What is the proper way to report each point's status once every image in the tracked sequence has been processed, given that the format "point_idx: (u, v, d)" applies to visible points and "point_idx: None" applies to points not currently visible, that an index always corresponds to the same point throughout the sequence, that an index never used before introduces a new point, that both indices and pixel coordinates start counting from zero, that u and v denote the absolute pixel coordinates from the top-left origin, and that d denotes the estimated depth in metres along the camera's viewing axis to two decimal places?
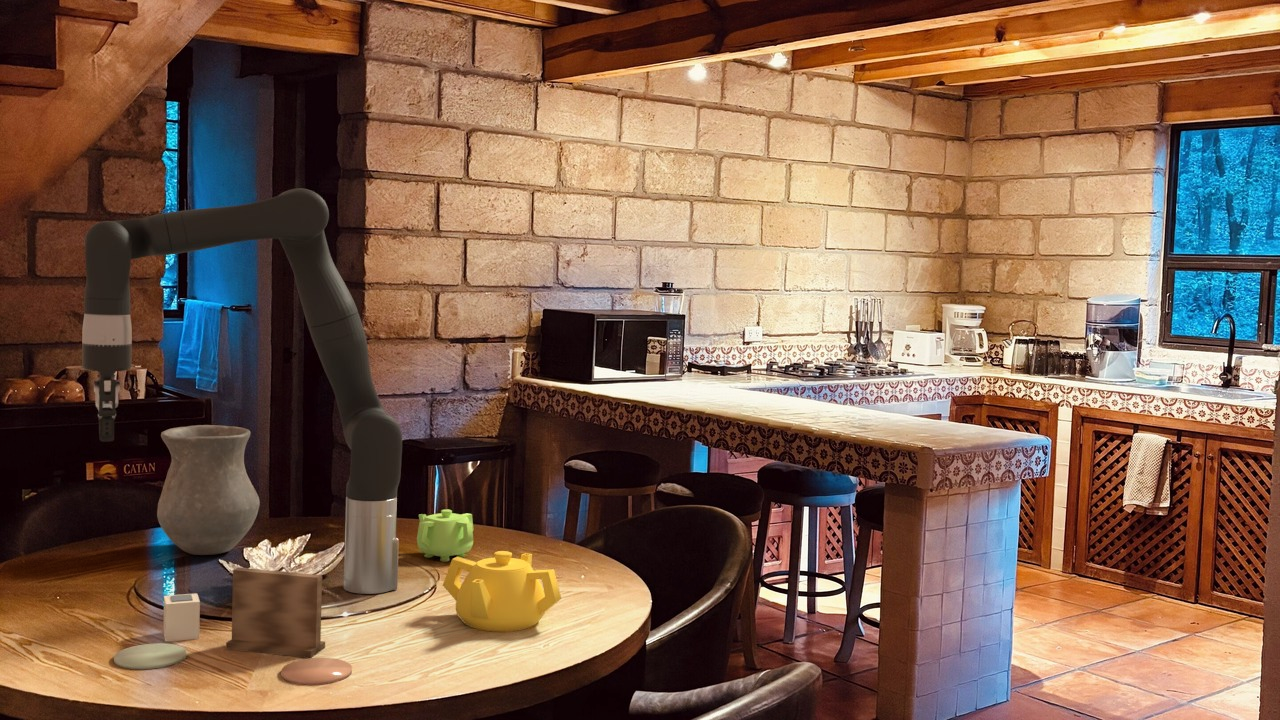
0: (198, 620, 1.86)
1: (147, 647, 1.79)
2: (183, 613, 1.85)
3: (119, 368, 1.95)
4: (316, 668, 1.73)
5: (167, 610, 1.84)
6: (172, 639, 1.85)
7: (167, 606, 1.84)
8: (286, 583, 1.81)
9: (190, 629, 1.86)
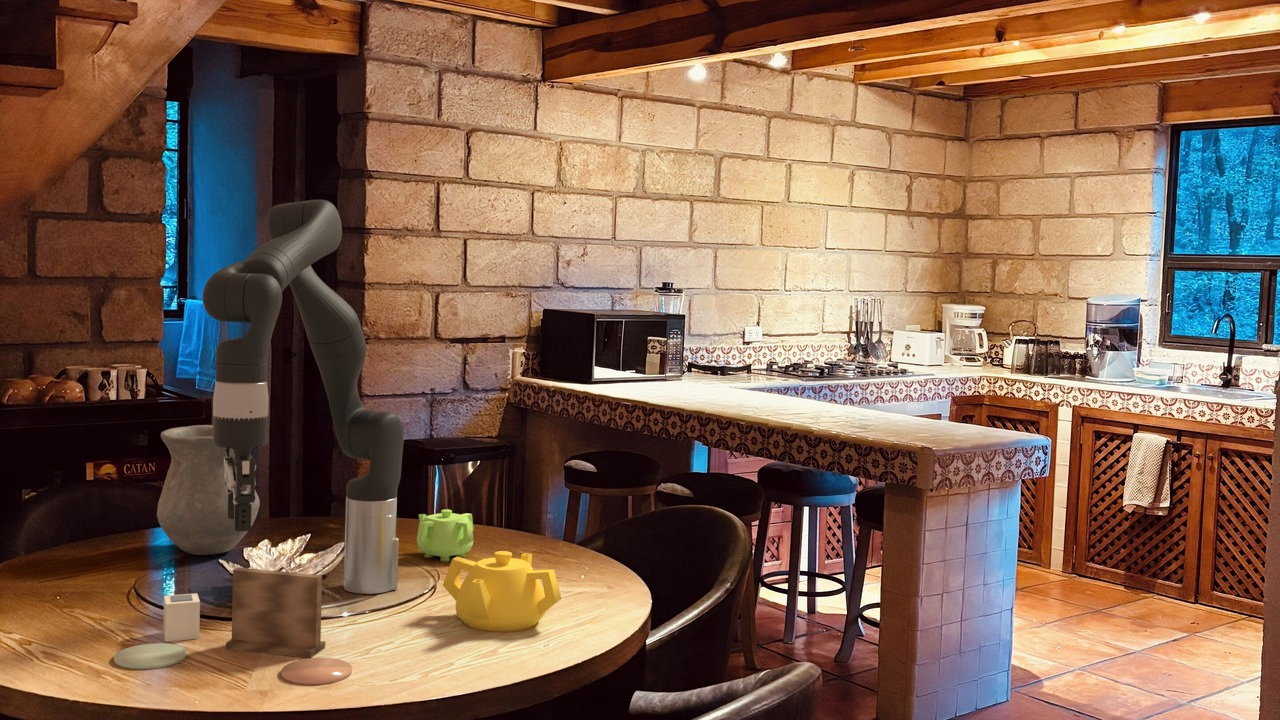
0: (198, 620, 1.86)
1: (147, 647, 1.79)
2: (183, 613, 1.85)
3: (256, 445, 1.66)
4: (316, 668, 1.73)
5: (167, 610, 1.84)
6: (172, 639, 1.85)
7: (167, 606, 1.84)
8: (286, 583, 1.81)
9: (190, 629, 1.86)
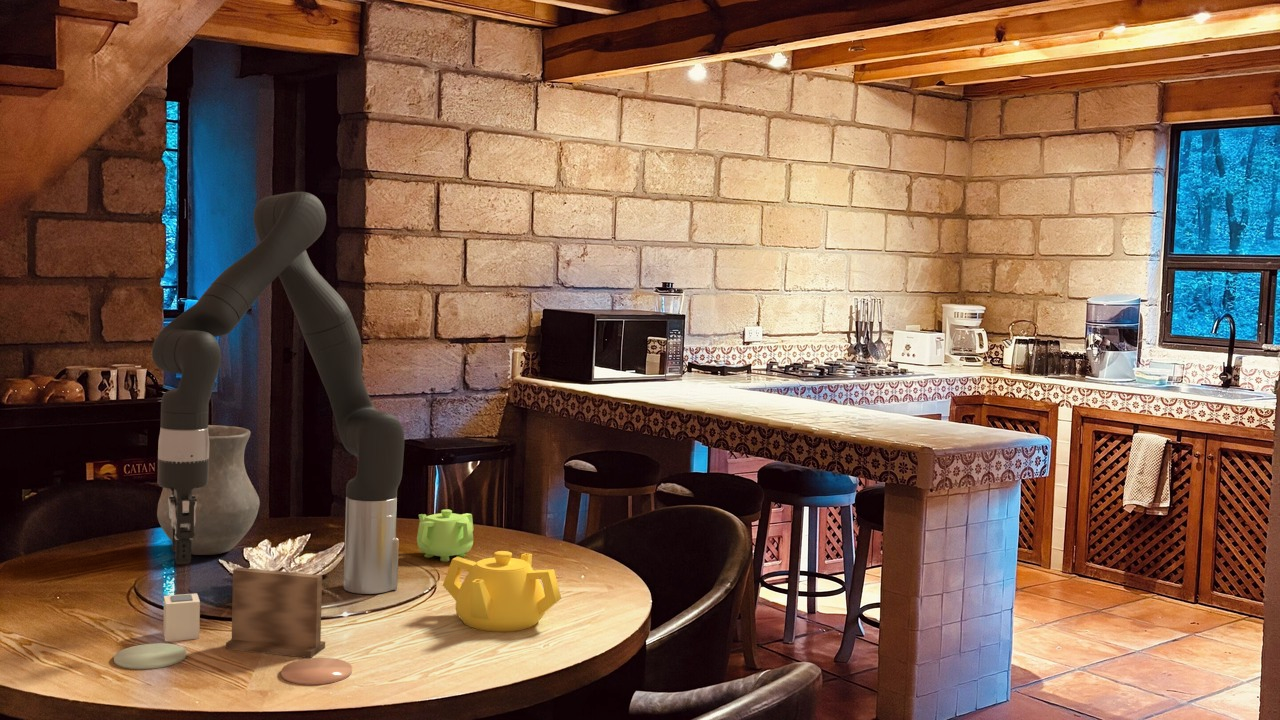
0: (198, 620, 1.86)
1: (147, 647, 1.79)
2: (183, 613, 1.85)
3: (197, 485, 1.84)
4: (316, 668, 1.73)
5: (167, 610, 1.84)
6: (172, 639, 1.85)
7: (167, 606, 1.84)
8: (286, 583, 1.81)
9: (190, 629, 1.86)
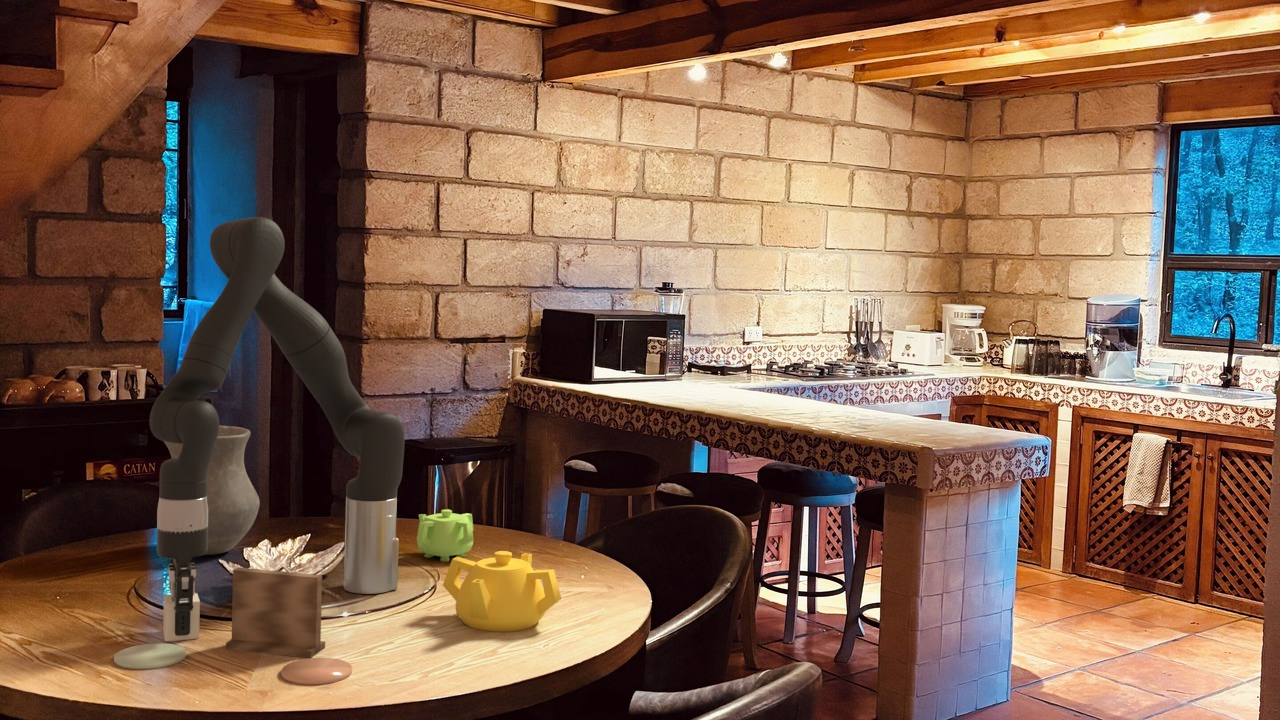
0: (198, 620, 1.86)
1: (147, 647, 1.79)
2: None
3: (196, 554, 1.84)
4: (316, 668, 1.73)
5: (167, 610, 1.84)
6: (172, 639, 1.85)
7: (167, 606, 1.84)
8: (286, 583, 1.81)
9: (190, 629, 1.86)
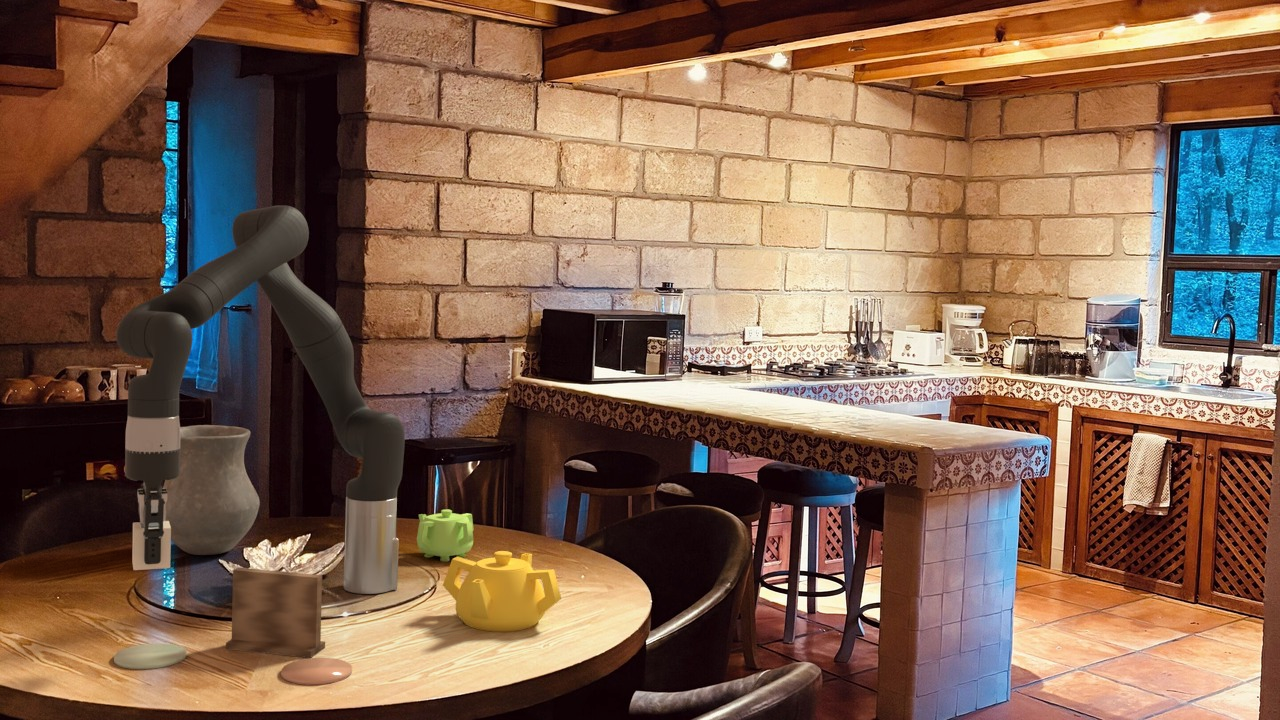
0: (169, 548, 1.74)
1: (147, 647, 1.79)
2: None
3: (167, 477, 1.72)
4: (316, 668, 1.73)
5: (135, 536, 1.72)
6: (141, 567, 1.72)
7: (135, 532, 1.72)
8: (286, 583, 1.81)
9: None
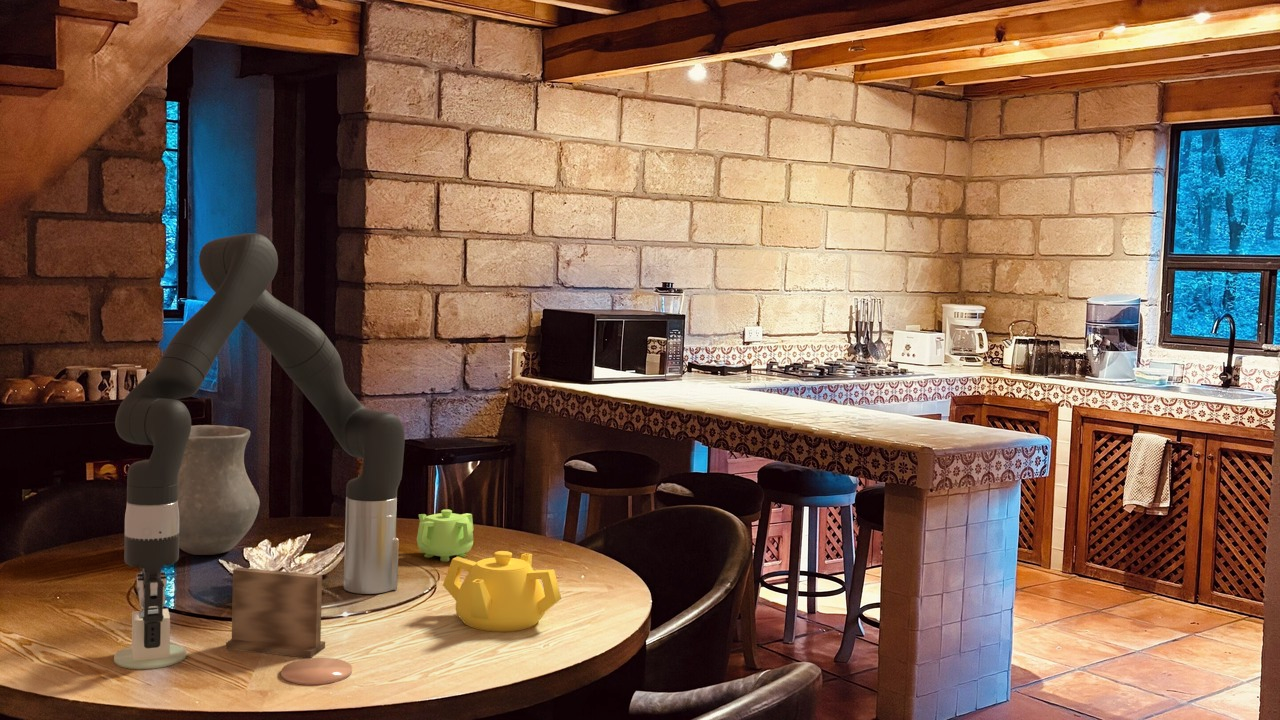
0: (168, 637, 1.75)
1: None
2: None
3: (166, 563, 1.73)
4: (316, 668, 1.73)
5: (135, 627, 1.73)
6: (140, 658, 1.74)
7: (135, 623, 1.73)
8: (286, 583, 1.81)
9: (160, 647, 1.75)
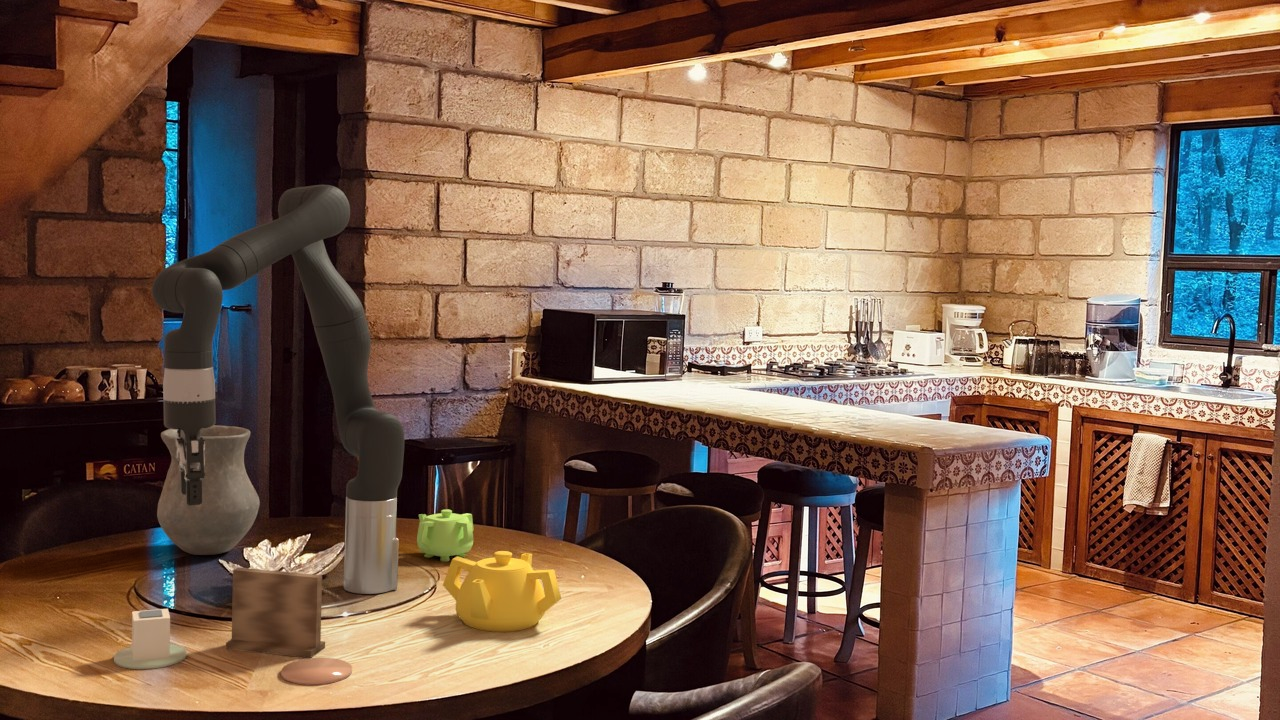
0: (168, 637, 1.75)
1: None
2: (152, 630, 1.74)
3: (204, 425, 1.81)
4: (316, 668, 1.73)
5: (135, 627, 1.73)
6: (140, 658, 1.74)
7: (135, 623, 1.73)
8: (286, 583, 1.81)
9: (160, 647, 1.75)
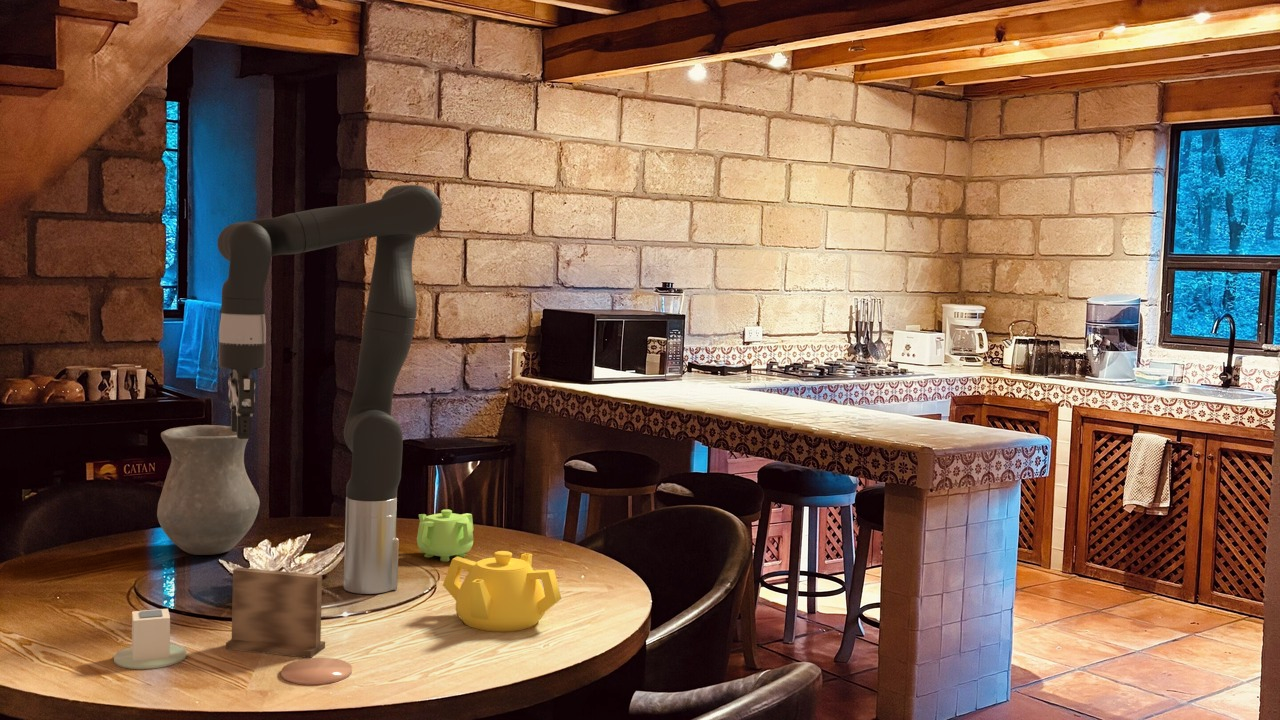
0: (168, 637, 1.75)
1: None
2: (152, 630, 1.74)
3: (255, 367, 1.98)
4: (316, 668, 1.73)
5: (135, 627, 1.73)
6: (140, 658, 1.74)
7: (135, 623, 1.73)
8: (286, 583, 1.81)
9: (160, 647, 1.75)
